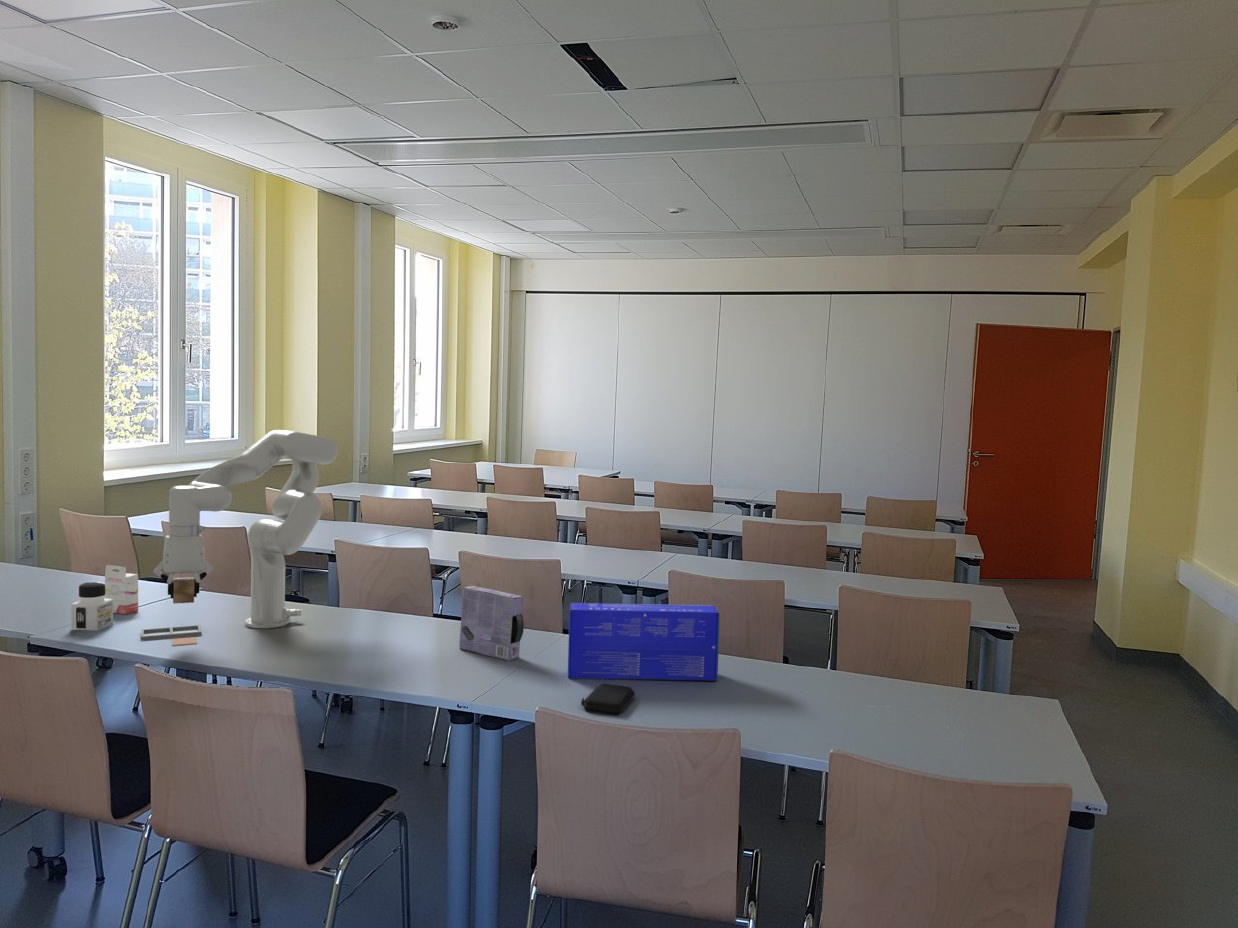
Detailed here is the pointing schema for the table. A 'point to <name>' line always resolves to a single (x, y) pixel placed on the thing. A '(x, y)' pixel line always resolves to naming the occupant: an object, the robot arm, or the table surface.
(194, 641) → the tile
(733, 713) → the table surface
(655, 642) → the toner cartridge box
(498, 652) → the cake pan box
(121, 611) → the ink cartridge box
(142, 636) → the cubby strip
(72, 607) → the container
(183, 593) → the brown labeled box
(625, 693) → the carrying case or bag
